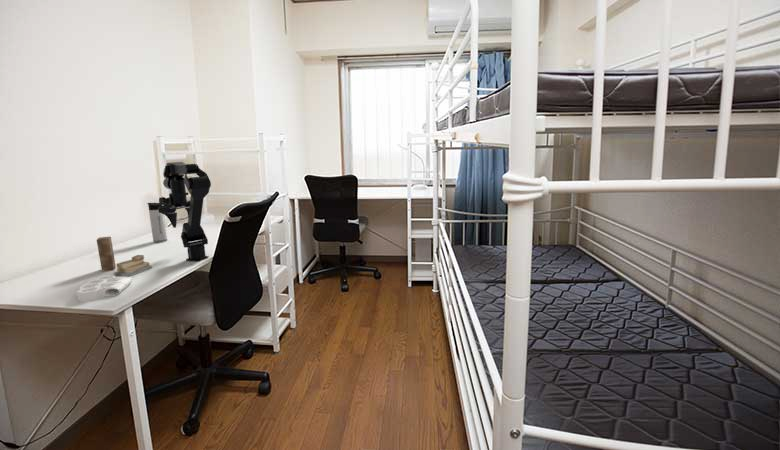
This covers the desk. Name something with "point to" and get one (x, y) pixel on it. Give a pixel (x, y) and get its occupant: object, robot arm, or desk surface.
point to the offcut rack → (132, 266)
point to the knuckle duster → (102, 287)
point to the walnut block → (106, 253)
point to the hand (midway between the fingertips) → (182, 225)
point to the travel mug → (157, 223)
